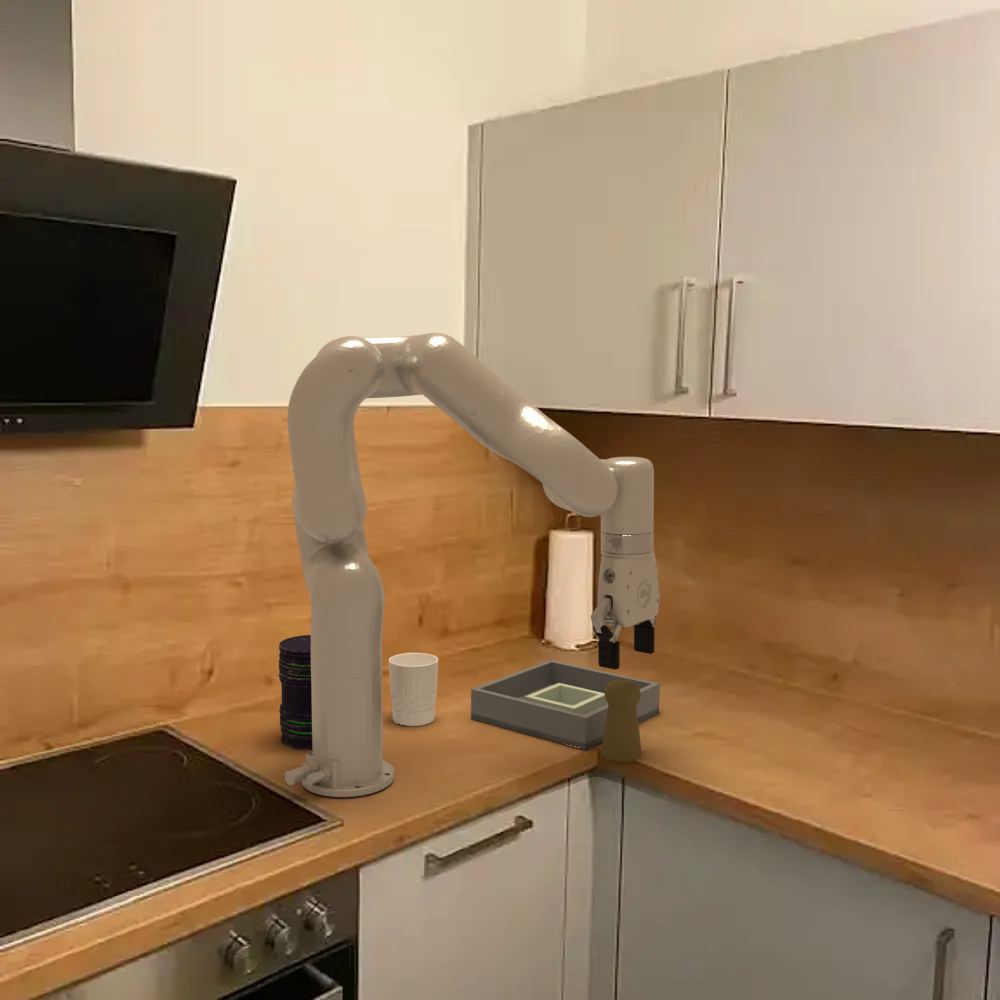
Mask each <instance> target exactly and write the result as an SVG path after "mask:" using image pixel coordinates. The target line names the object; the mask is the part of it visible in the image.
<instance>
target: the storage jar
mask: <svg viewBox="0 0 1000 1000" xmlns="http://www.w3.org/2000/svg"><path fill="white" fill-rule="evenodd" d="M278 649H279V653H278V657H279V659H278V670H279V671H278V672H279V674H278V677H279V682H280V683H281V684H280V685H281V689H280V690H281V703H280V705H279V711H278V712H279V726H280V732H281V735H280V743H282V745H283V746H285V747H287V748H290V749H294V750H301V751H312V690H311V634H307V635H305V634H304V635H297V636H292V637H288V638H285V639H283V640H281V641H280V642H279V644H278Z"/></svg>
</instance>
